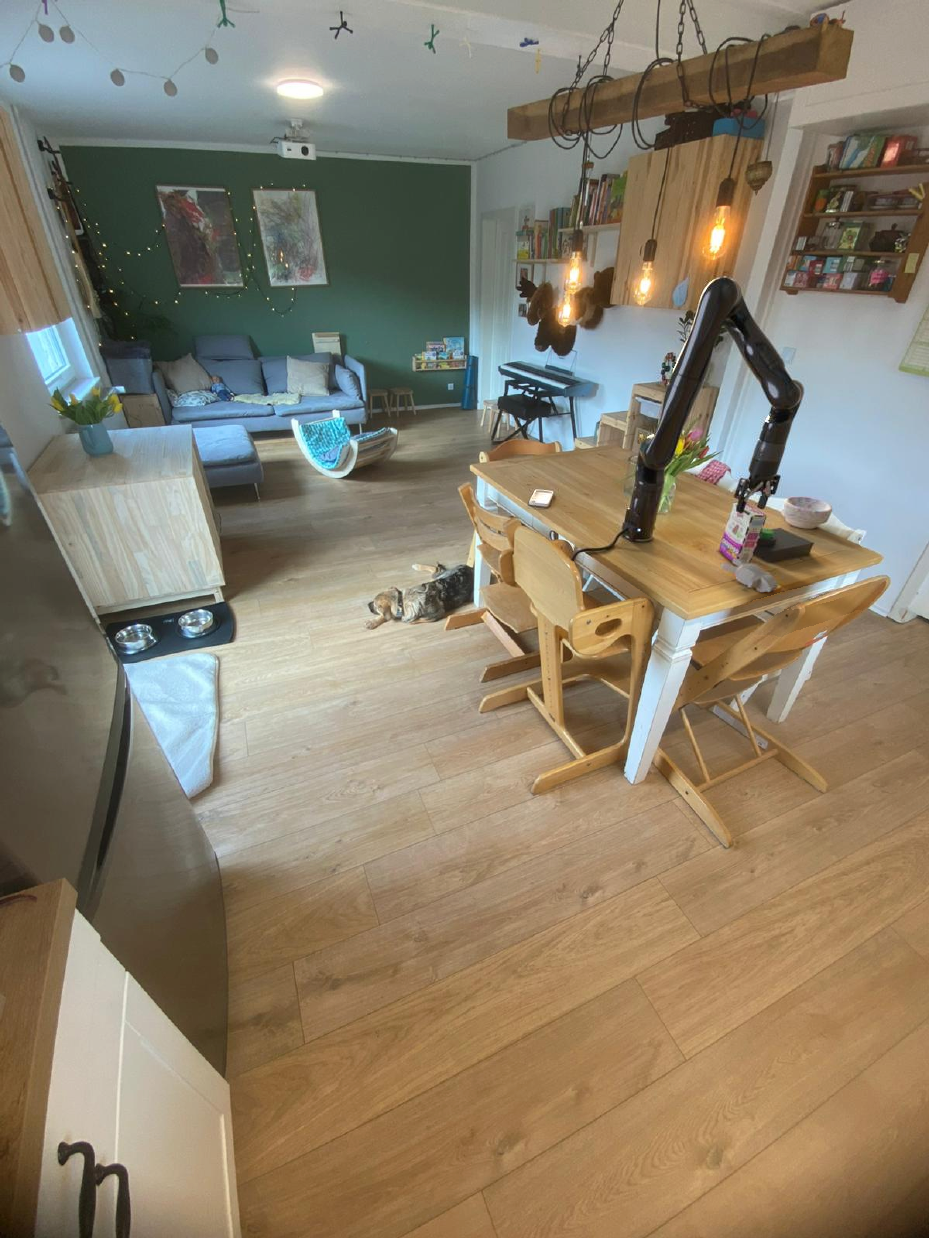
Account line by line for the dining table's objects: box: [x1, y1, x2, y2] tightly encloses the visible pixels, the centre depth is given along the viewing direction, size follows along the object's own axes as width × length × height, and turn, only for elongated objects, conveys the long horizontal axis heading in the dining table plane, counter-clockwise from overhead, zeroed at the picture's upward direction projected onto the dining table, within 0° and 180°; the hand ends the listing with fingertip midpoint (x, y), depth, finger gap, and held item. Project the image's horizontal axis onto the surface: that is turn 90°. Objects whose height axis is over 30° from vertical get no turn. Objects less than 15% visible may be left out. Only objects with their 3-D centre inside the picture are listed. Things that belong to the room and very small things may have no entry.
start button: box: [760, 528, 774, 539], centre depth 169 cm, size 4×4×2 cm
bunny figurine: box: [720, 559, 779, 593], centre depth 154 cm, size 10×5×15 cm
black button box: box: [753, 527, 815, 563], centre depth 173 cm, size 18×13×6 cm
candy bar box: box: [718, 502, 768, 564], centre depth 164 cm, size 11×5×16 cm, turn 5°
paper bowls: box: [780, 495, 834, 530], centre depth 192 cm, size 15×15×8 cm
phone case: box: [528, 488, 554, 508], centre depth 209 cm, size 7×1×15 cm
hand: (749, 510), depth 160 cm, fingers open, 8 cm apart
